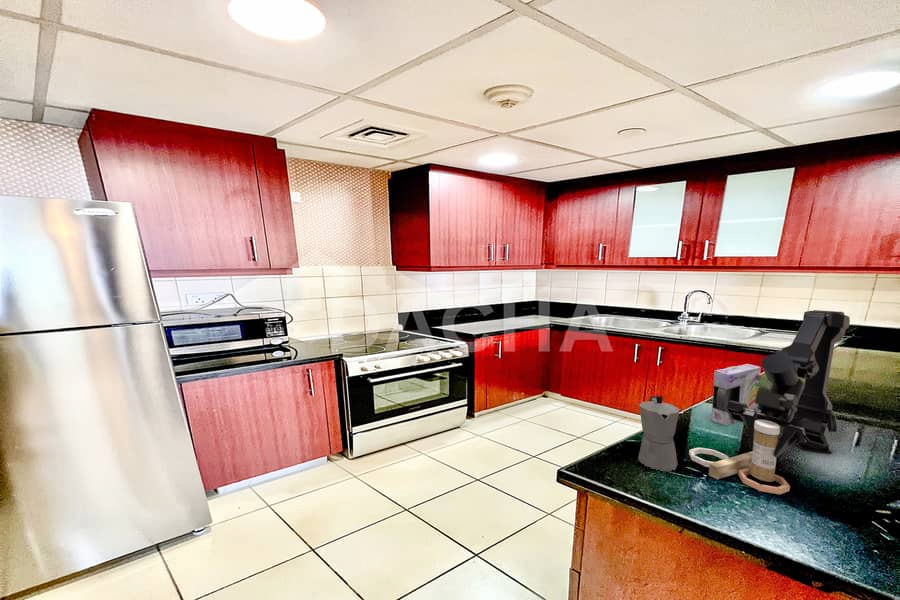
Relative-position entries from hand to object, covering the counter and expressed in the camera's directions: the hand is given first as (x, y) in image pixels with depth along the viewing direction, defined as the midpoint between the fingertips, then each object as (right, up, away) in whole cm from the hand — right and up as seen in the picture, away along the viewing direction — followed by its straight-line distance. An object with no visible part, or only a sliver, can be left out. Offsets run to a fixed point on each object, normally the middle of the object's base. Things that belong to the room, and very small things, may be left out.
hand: (762, 452), depth 87 cm
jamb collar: (-4, -7, +12) cm, 15 cm away
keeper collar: (+1, -8, +1) cm, 8 cm away
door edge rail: (-1, -7, +7) cm, 10 cm away
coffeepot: (-18, -7, +12) cm, 23 cm away
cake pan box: (+23, -5, +39) cm, 45 cm away
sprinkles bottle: (+1, -7, +2) cm, 7 cm away
